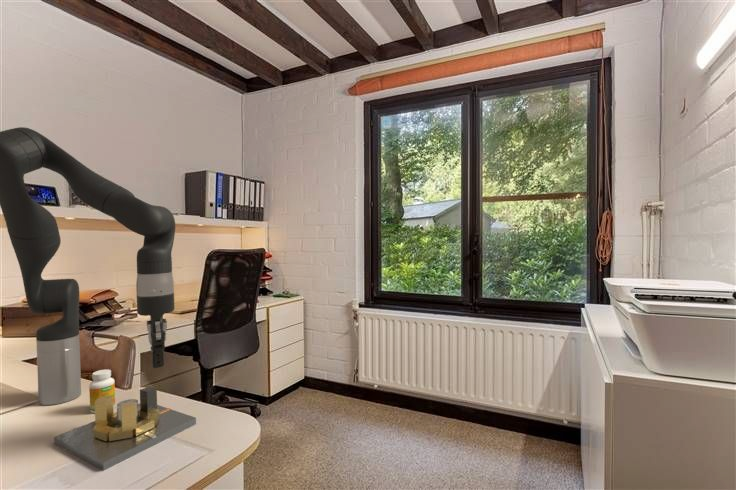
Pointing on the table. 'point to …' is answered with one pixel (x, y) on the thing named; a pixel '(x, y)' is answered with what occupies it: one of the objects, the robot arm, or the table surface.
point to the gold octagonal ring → (126, 416)
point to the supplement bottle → (101, 387)
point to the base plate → (119, 450)
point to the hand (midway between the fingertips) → (158, 366)
